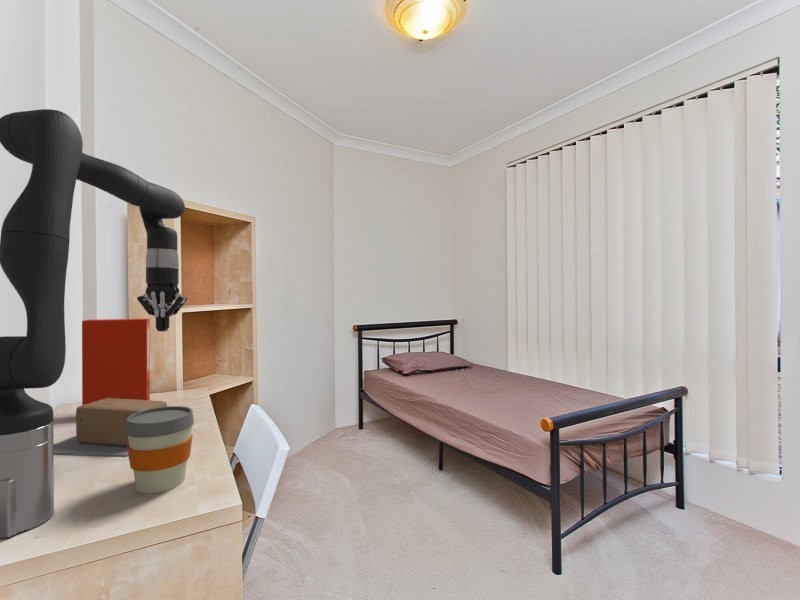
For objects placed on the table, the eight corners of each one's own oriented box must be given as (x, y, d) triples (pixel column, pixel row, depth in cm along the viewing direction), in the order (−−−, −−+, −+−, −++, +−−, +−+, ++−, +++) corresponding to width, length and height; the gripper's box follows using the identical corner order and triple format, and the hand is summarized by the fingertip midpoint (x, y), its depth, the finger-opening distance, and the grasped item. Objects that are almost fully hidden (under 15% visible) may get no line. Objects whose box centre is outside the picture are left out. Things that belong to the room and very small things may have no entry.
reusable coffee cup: (186, 465, 93) (186, 402, 93) (200, 484, 84) (200, 415, 83) (122, 481, 85) (121, 413, 84) (130, 505, 75) (129, 428, 75)
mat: (126, 456, 98) (126, 454, 97) (35, 453, 99) (35, 452, 99) (167, 433, 113) (167, 432, 113) (89, 431, 115) (89, 430, 115)
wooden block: (139, 410, 101) (74, 406, 104) (140, 448, 101) (74, 443, 104) (168, 400, 111) (107, 396, 114) (168, 435, 111) (107, 430, 114)
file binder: (89, 414, 131) (88, 319, 130) (149, 408, 138) (149, 318, 138) (82, 421, 123) (81, 321, 123) (146, 414, 131) (146, 319, 131)
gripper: (128, 265, 101) (128, 332, 101) (177, 265, 101) (177, 332, 101) (148, 267, 109) (148, 329, 109) (194, 267, 108) (194, 330, 108)
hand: (162, 331), depth 105 cm, fingers closed
